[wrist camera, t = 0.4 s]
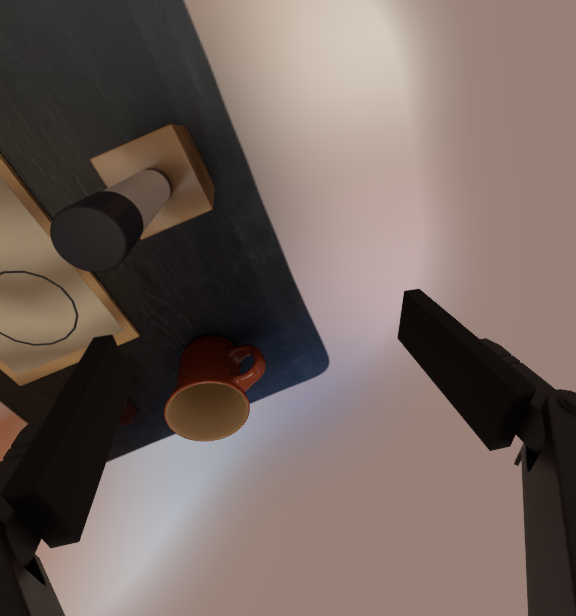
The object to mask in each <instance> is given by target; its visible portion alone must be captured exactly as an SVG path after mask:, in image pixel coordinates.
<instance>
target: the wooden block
mask: <svg viewBox="0 0 576 616" xmlns="http://www.w3.org/2000/svg"><path fill="white" fill-rule="evenodd" d="M90 161H91V163H92V164H93V166H94V168H95V169H96V171H97V172H98V174H99V175H100V177H101V178H102V180H103V182H104V183H105V185H106V186H107V188H109V187H111V186H113V185H115V184H117V183H119V182H121V181H123V180H125V179H127V178H129V177H131V176H133V175H135V174H136V173H138V172H140V171H142V170H144V169H147V168H156V169H159V170H161V171H163V172H164V173H165V174H166V175H167V176H168V177H169V178H170V180H171V182H172V187H173V191H172V195H171V197H170V198H169V199H168V201H167V202H166V203H165V205H164V206H163V207H162V208H161V210H160V211H159V212H158V214H157V215H156V216H155V218H154V219H153V220H152V221H151V223H150V224H149V225H148V227H147V228H146V229H145V230H144V232H143V233H142V235H141V237H140V239H141V240H142V239H145V238H147V237H149V236H152V235H154V234H156V233H159V232H161V231H163V230H166V229H168V228H170V227H173V226H175V225H178V224H180V223H182V222H185V221H187V220H189V219H192V218H194V217H196V216H199V215H201V214H203V213H206V212H208V211H210V210H212V209H213V202H214V194H215V186H214V184H213V182H212V180H211V178H210V176H209V174H208V171H207V169H206V167H205V165H204V163H203V161H202V159H201V156H200V154H199V152H198V150H197V148H196V146H195V144H194V141H193V139H192V137H191V135H190V133H189V131H188V129H187V126H183V125H174V124H169V125H167V126H165V127H162V128H160V129H158V130H156V131H153V132H151V133H149V134H146V135H144V136H142V137H139V138H137V139H135V140H132V141H130V142H128V143H126V144H123V145H121V146H119V147H116V148H114V149H112V150H109V151H107V152H105V153H102V154H100V155H98V156H96V157H93V158H91V159H90Z"/></svg>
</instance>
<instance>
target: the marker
mask: <svg viewBox="0 0 576 616" xmlns="http://www.w3.org/2000/svg"><path fill="white" fill-rule="evenodd" d="M172 191H173V187H172V182H171V180H170V178H169V177H168V176H167V175H166V174H165V173H164V172H163V171H161V170H159V169H156V168H147V169H144V170H142V171H140V172H138V173H136V174H135V175H133V176H131V177H129V178H127V179H125V180H123V181H121V182H119V183H117V184H115V185H113V186H111V187H109V188H107V189H105V190H103V191H101V192H97V193H94V194H92V195H90V196H88V197H86V198H84V199H82V200H80V201H78V202H76V203H74V204H72V205H70V206H68V207H66V208H64V209H62V210H61V211H59V212H58V213H57V214H56V215H55V217H54V218H53V220H52V222H51V226H50V237H51V241H52V244H53V246H54V248H55V249H56V251H57V252H58V254H59V255H60V256H61V257H62V258H63V259H64V260H65V261H66V262H68V263H69V264H71V265H72V266H74V267H76V268H78V269H81V270H84V271H88V272H105V271H109V270H112V269H114V268H115V267H117V266H118V265H119V264H120V263H121V262H122V261H123V260H124V259H125V257H126V256H127V255H128V253H129V252H130V251H131V249H132V248H133V247H134V245H135V244H136V243H137V241H138V240H139V239H140V237H141V235H142V233H143V232H144V230H145V229H146V228H147V227H148V225H149V224H150V223H151V221H152V220H153V219H154V218H155V216H156V215H157V214H158V212H159V211H160V210H161V208H162V207H163V206H164V205H165V203H166V202H167V201H168V199H169V198H170V197H171V195H172Z"/></svg>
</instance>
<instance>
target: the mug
mask: <svg viewBox="0 0 576 616" xmlns="http://www.w3.org/2000/svg"><path fill="white" fill-rule="evenodd" d="M249 355H253V357H254V364H253V366H252V367H251V368H250V369H249V370H248V371H247V372H245V373H244V374H241V371H240V362H241V361H242V360H243V359H244V358H245V357H247V356H249ZM265 368H266V362H265V358H264V355H263V354H262V352H261V351H260V350H259V349H258V348H257V347H256V346H254V345H250V344H247V345H242V346H237V347H235V346H234V345H233V344H232V343H231V342H230V341H229V340H227V339H226V338H224V337H220V336H214V335H208V336H202V337H199V338H197V339H195V340H193V341H192V342H191V343H190V344H189V345H188V346H187V347H186V349H185V351H184V352H183V354H182V357H181V359H180V363H179V371H178V380H177V386H176V389H175V390H174V392H173V393H172V395H171V396H170V398H169V399H168V401H167V403H166V406H165V410H164V416H165V420H166V423H167V424H168V426H169V427H170V428H171V430H173V431H174V432H175V433H176V434H178V435H180V436H182V437H184V438H186V439H190V440H194V441H214V440H218V439H222V438H225V437H227V436H229V435H231V434H233V433H235V432H236V431H237V430H238V429H240V428H241V427H242V425H244V423H245V422H246V420H247V418H248V416H249V410H250V405H249V400H248V398H247V396H246V393H245V392H246V390H247V389H249V388H250V387H251V385H252V384H254V383H255V382H256V381H257V380H259V379H260V377H261V376H262V375H263V373H264V371H265Z"/></svg>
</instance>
